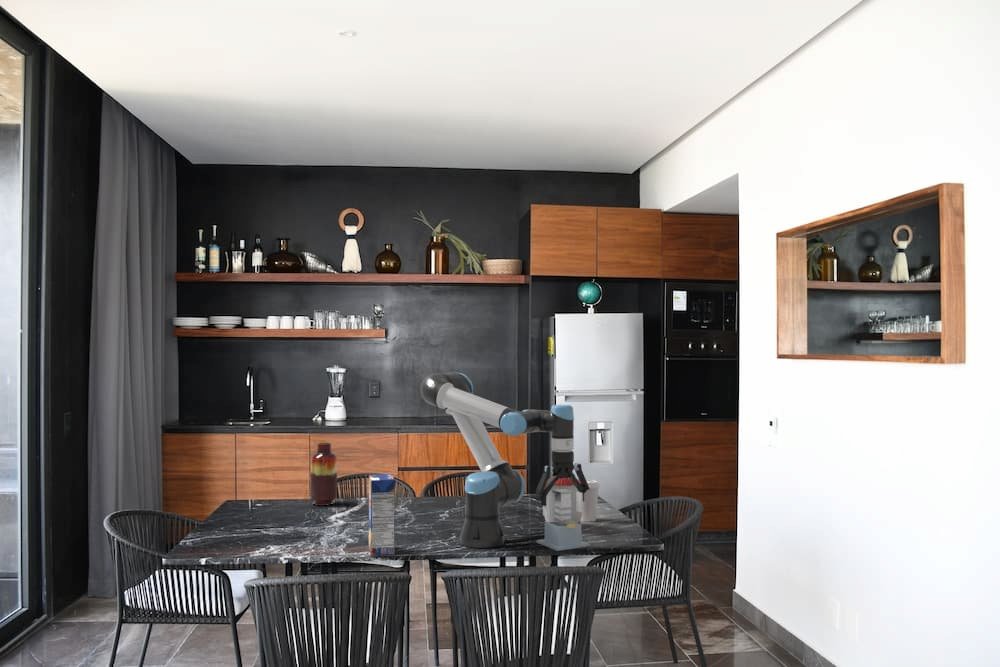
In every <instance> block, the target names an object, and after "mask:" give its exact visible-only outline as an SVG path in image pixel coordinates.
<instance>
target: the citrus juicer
mask: <svg viewBox="0 0 1000 667" xmlns="http://www.w3.org/2000/svg"><path fill="white" fill-rule="evenodd" d="M549 479H550V478H548V480H549ZM577 480H578V481H579V479H578V478H577ZM547 482H548V481H547ZM579 482H580V481H579ZM580 484H581V483H580ZM558 489H568V490H571V491H573V492H574V493H573V494H571V507H573V509H572V510H571V513H573V515H571V519H573V521H572V522H575V523H578V524H581V522H582V521H581V517H582V513H583V512H578V511H576V492H579V491H578V489H577V488H576V487H575V485H574V484H573V483H572V482H571V480H570V479H569V478H563V479H560V478H559V479H558V480H557V481H556V482H555V484H554V485H553V487H552V488H551V490H550V491H549V493H548V494H547V496H549V516H545V515H543V516H544V519H545V522H552V521H554V520H553V518H555V515H554V514H553V512H555V509H554V508H553V506H555V493H553V492H552V490H558Z"/></svg>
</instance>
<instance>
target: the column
mask: <svg viewBox="0 0 1000 667" xmlns="http://www.w3.org/2000/svg"><path fill="white" fill-rule="evenodd" d="M552 492H553V493H555V506H553V508H554V509H555V512H553V514H554V515H555V518H553V520H554V521H555V524H554V525H557V526H560V527H561V526H567V524H571V521H573V519H571V515H573V513H571V510H572V509H573V507H571V494H573V493H574V492H573V491H571V490H568V489H558V490H552Z"/></svg>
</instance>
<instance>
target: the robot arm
mask: <svg viewBox="0 0 1000 667" xmlns="http://www.w3.org/2000/svg"><path fill="white" fill-rule="evenodd" d="M420 395H421V398H422V399H423V400H424V401H425V403H427V404H429V405H431V406H434V407H436V408H439V409H442V410H443V409H444V411H445V413H446V414H447V415H451V416H452V417H453V420H454V421H455V423H456V425H457V426H458V429H459V431H460V433H461V435H462V437H463V438H464V440H465V443H466V444H467V446H468V448H469V450H470V452H471V453H472V456H473V458H474V460H475V461H476V464H477V465H478V468H479V469H480V471H476V472H474V473H469V475H467V476H466V478H465V483H464V484H465V485H464V498H465V499H464V500H465V501H464V510H465V511H464V514H465V516H464V523H463V526H462V529H461V532H460V535H459V544H460V545H461V546H464V547H468V548H476V549H477V548H478V549H479V548H480V549H481V548H482V549H485V548H494V547H500V546H502V545H504V544H505V534H504V531H503V528H502V524H501V521H500V508H501V507H503V508H504V507H505V506H510V505H514V504H515V503H517V502H518V501H520V500H521V499H522V498H523V496H524V494H525V492H526V480H525V478H524V476H523V475H522V473H520V472H519V471H518V470H516V469H513V468H512V466H511V464H510V462H508V461H507V460H504V459H503V458H502V457H501V454H500V453H499V451H498V449H497V446H496V445H495V444H494V442H493V440H492V438H491V435H490V434H489V432H488V430H487V428H486V426H485V424H489V425H490V426H492V427H495V428H499V429H501V430H502V432H503V433H504V434H505V435H507V436H513V437H515V436H519V435H525V434H530V433H539V432H540V433H551V450H552V451H551V463H552V464H551V466H550V465H544V466H543V473H542V474H541V477H540V480H539V482H538V485H537V487H536V490H535V494H536V495H539V496H540V506H541V507H542V516H544V515H545V516H549V496H547V494H548V493H549V491H550V490H551V488H552V487H553V485H554V484H555V482H556V481H557V480H558V479H559V478H560V479H563V478H569V479H570V480H571V482H572V483H573V484H574V485H575V487H576V488H577V489H578V491H579V492H576V511H578V512H583V502H584V493H586V490H589V486H588V483H587V481H586V480H587V478H586V476H585V475H584V473H583V468H582V463H578V462H575V463H574V461H575V452H574V451H573V450H574V449H575V448H574V446H575V443H574V442H575V441H574V426H575V425H574V420H575V416H574V406H572V405H570V404H552V406H551V409H549V410H543V409H534V408H533V409H532V408H531V409H523V410H522V411H519V410H516V409H513V408H510V407H508V406H505V405H502V404H500V403H496V402H494V401H491V400H488V399H486V398H484V397H480V396H478V395H475V394H474V385H473V382H472V380H471V379H470V378H469V377H468V376H467V375H466V374H464V373H461V372H458V371H457V372H456V371H452V372H435V373H434V372H433V373H430V374H428V375H427V376H425V377H424V379H423V380H422V382H421V384H420ZM484 423H485V424H484ZM573 471H575V473H574V472H573ZM575 474H576V475H575ZM576 476H577V477H576ZM548 479H549V480H548ZM577 479H578V480H579V481H580V482H579V481H578V480H577ZM547 481H548V482H547ZM580 483H581V484H580ZM545 516H544V517H545Z"/></svg>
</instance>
